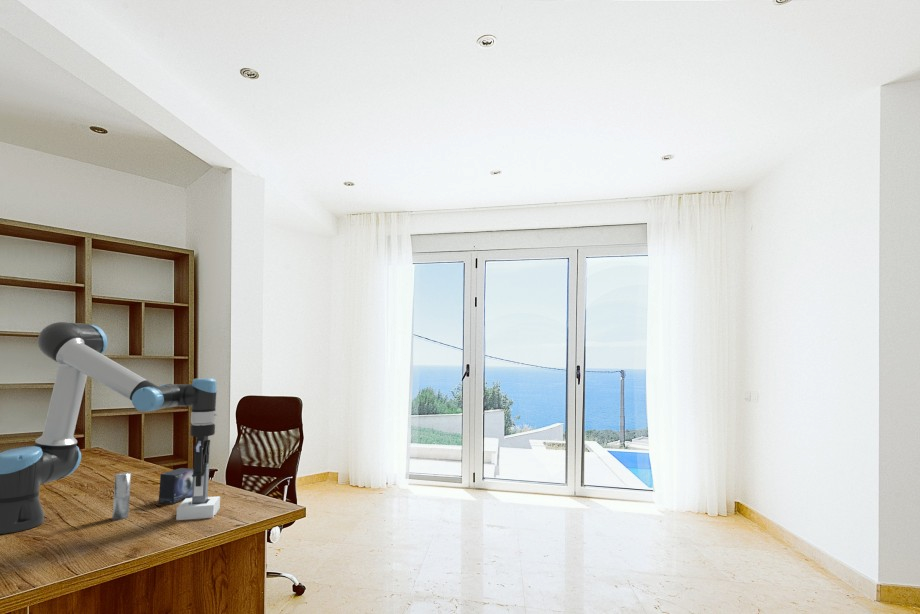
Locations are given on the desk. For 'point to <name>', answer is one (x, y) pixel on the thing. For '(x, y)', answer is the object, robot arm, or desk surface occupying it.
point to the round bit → (121, 496)
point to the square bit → (203, 498)
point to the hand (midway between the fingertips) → (200, 493)
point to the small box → (175, 486)
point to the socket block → (198, 509)
